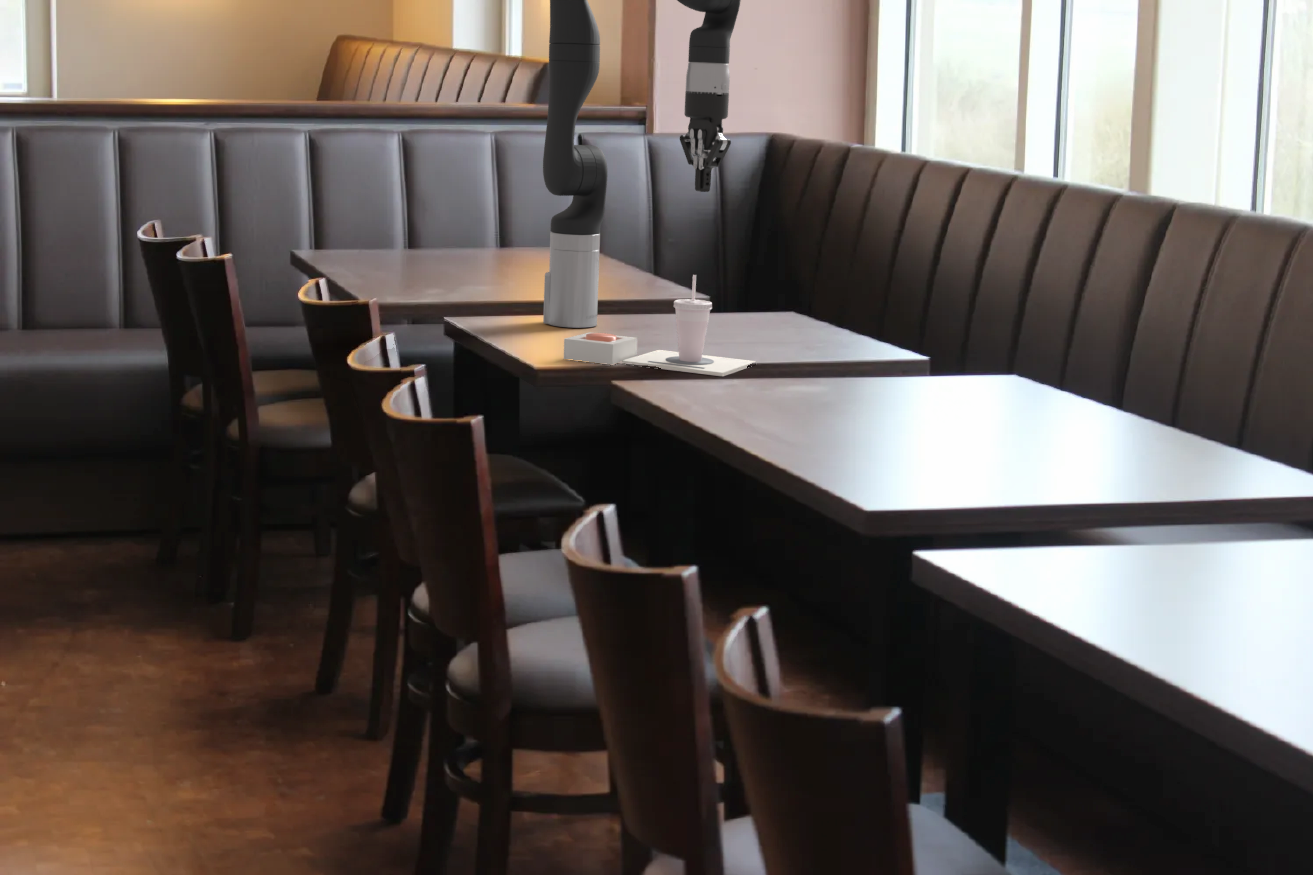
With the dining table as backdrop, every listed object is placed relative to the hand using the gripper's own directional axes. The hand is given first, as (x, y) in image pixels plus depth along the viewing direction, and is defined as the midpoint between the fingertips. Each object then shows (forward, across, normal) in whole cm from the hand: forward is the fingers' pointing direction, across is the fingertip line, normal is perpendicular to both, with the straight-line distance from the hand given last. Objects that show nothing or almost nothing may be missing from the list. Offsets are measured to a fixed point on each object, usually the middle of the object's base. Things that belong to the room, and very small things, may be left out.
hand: (702, 191), depth 297 cm
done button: (+26, +8, -24) cm, 37 cm away
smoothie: (+26, +17, -12) cm, 34 cm away
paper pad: (+27, +17, -13) cm, 35 cm away
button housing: (+27, +8, -24) cm, 37 cm away
